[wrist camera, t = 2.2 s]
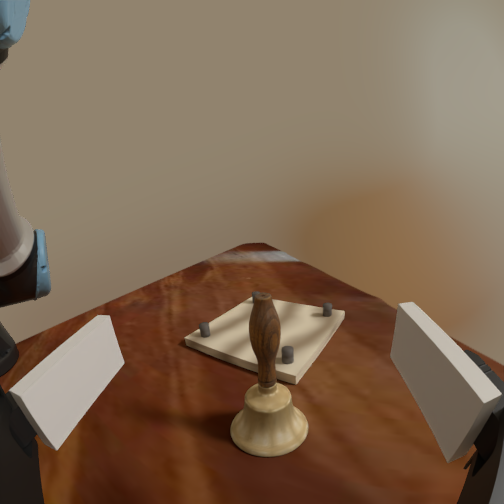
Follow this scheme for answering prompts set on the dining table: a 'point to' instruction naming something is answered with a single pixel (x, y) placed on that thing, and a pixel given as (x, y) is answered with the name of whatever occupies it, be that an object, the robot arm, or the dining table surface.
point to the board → (291, 342)
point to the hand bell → (267, 393)
